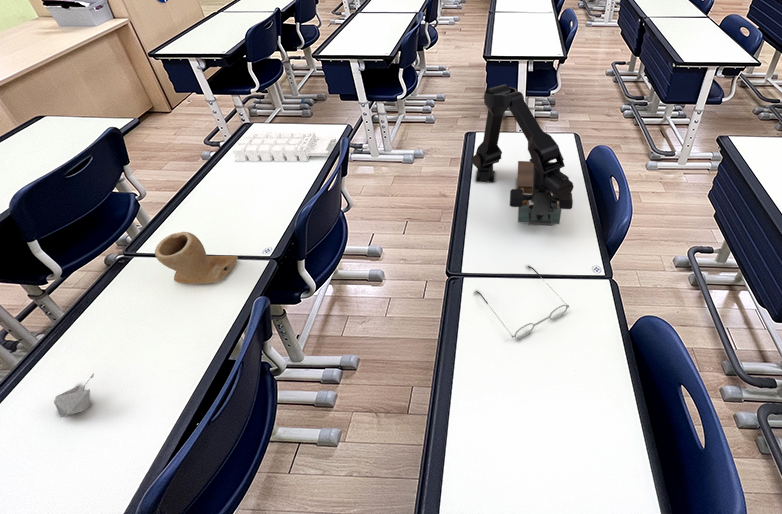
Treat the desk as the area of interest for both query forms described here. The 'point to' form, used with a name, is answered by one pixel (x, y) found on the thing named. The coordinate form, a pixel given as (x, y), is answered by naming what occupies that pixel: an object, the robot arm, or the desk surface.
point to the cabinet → (525, 174)
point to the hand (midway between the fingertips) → (539, 219)
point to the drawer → (528, 216)
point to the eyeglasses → (537, 322)
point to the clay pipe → (192, 259)
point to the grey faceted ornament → (73, 400)
